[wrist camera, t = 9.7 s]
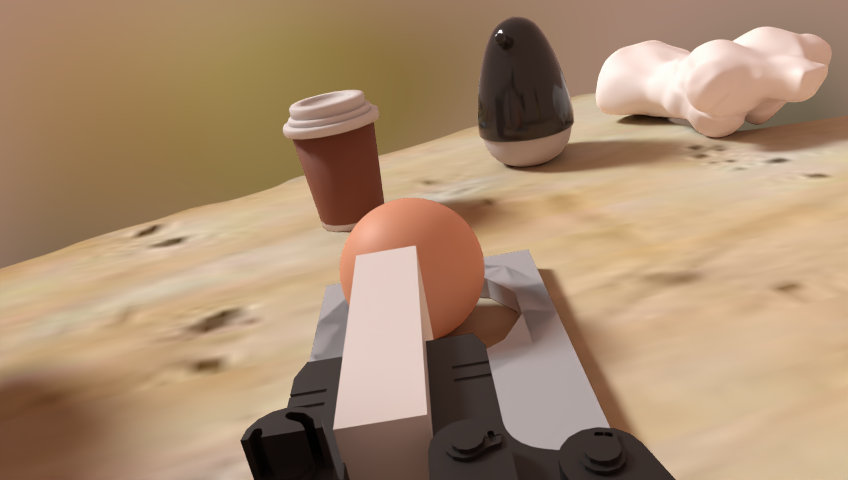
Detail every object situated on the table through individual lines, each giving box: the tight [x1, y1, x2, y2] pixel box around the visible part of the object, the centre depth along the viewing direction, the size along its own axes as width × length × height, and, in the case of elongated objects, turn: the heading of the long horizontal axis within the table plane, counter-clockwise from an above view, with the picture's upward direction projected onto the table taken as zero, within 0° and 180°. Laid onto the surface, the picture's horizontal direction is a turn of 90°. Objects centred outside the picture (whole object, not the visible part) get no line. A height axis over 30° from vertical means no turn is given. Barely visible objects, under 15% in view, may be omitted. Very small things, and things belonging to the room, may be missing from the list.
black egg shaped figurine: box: [478, 17, 574, 167], centre depth 71 cm, size 10×10×15 cm
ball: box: [340, 198, 485, 340], centre depth 42 cm, size 9×9×9 cm
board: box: [309, 250, 610, 450], centre depth 37 cm, size 27×15×2 cm, turn 2°
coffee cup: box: [283, 90, 384, 232], centre depth 64 cm, size 9×9×12 cm
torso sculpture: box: [596, 27, 832, 138], centre depth 71 cm, size 18×10×25 cm
